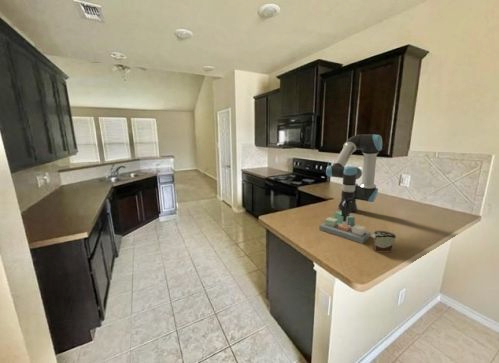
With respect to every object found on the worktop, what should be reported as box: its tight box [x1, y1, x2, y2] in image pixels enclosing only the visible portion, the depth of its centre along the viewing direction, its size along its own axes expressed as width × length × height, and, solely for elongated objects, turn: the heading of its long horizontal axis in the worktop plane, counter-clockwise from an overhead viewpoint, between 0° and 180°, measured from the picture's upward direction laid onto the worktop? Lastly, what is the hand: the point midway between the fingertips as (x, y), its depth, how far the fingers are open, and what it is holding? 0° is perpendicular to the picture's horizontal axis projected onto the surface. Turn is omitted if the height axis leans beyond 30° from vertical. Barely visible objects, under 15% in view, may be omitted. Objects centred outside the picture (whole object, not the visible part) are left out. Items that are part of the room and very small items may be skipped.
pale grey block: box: [352, 224, 367, 236], centre depth 138 cm, size 6×6×4 cm
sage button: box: [324, 216, 338, 227], centre depth 151 cm, size 6×6×4 cm
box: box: [333, 210, 356, 227], centre depth 161 cm, size 7×14×8 cm, turn 13°
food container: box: [372, 230, 397, 253], centre depth 125 cm, size 12×6×10 cm, turn 92°
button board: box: [318, 222, 372, 245], centre depth 145 cm, size 14×28×3 cm, turn 45°
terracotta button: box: [338, 224, 351, 232], centre depth 145 cm, size 6×6×4 cm
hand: (344, 225), depth 145 cm, fingers closed
